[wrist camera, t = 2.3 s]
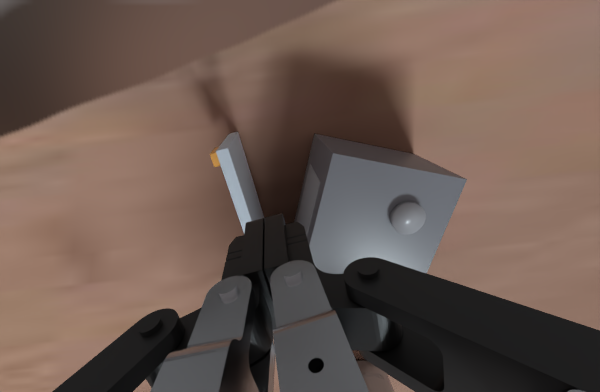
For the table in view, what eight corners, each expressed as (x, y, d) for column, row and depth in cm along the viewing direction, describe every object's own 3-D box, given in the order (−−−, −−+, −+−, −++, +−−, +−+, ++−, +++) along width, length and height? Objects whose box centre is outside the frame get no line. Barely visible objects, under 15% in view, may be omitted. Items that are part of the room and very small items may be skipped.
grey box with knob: (364, 292, 34) (395, 357, 26) (279, 283, 32) (283, 350, 24) (413, 153, 28) (472, 181, 20) (313, 133, 26) (334, 155, 18)
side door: (282, 277, 31) (286, 328, 25) (266, 281, 31) (265, 333, 25) (237, 131, 25) (227, 148, 19) (217, 136, 25) (200, 154, 19)
